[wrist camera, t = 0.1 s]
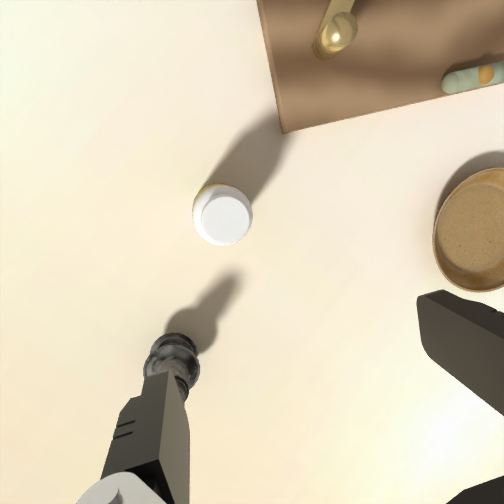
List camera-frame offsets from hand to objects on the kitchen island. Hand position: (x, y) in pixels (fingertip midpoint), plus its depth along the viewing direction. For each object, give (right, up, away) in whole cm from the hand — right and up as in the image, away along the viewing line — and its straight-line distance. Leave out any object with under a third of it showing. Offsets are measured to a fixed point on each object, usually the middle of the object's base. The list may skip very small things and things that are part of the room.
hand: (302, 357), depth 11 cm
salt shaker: (-11, -8, +31) cm, 33 cm away
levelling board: (+12, +29, +26) cm, 41 cm away
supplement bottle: (-5, +8, +28) cm, 29 cm away
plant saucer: (+26, +6, +34) cm, 43 cm away
